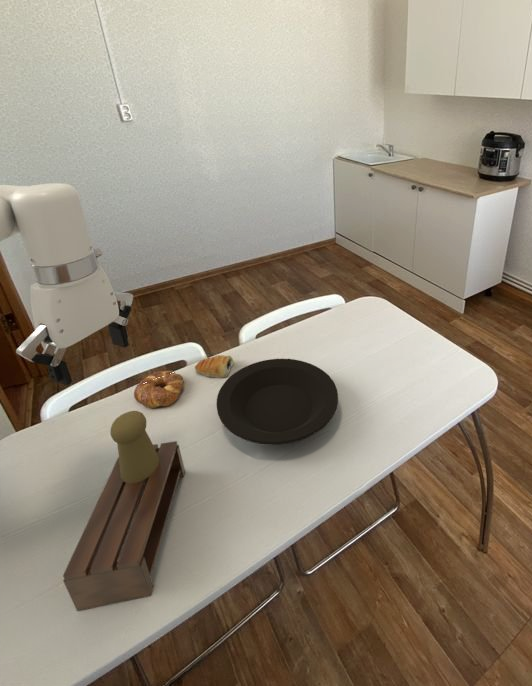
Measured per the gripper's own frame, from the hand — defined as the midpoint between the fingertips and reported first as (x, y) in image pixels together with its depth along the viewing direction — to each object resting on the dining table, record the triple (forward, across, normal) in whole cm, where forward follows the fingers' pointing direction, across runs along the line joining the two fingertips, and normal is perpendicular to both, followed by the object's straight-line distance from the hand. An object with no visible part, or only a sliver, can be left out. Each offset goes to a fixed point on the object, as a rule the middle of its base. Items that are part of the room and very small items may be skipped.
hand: (94, 362), depth 63 cm
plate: (+28, -25, +17) cm, 41 cm away
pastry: (+28, -31, -7) cm, 43 cm away
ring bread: (+29, -20, -14) cm, 38 cm away
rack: (+28, +5, +8) cm, 30 cm away
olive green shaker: (+21, 0, +5) cm, 21 cm away
